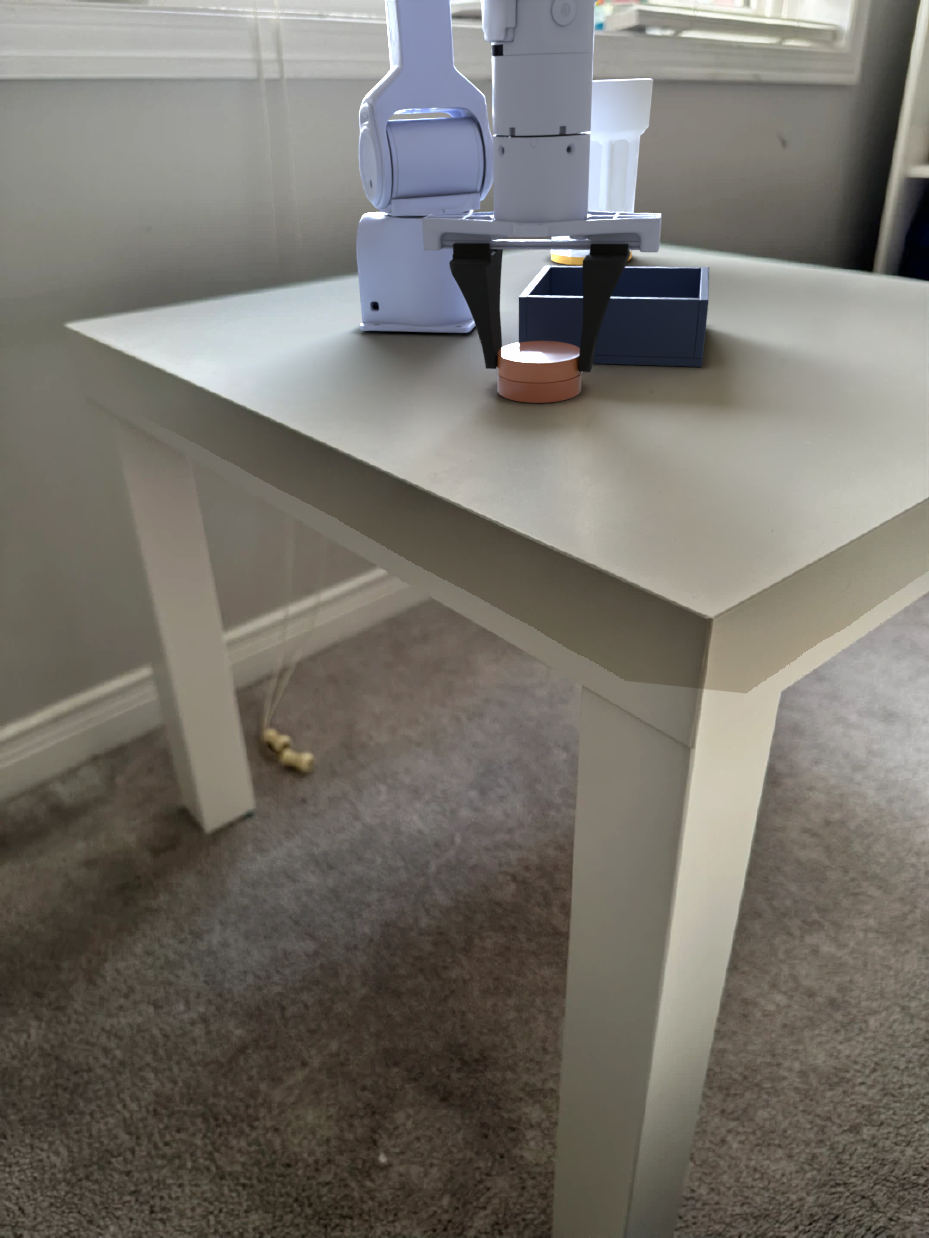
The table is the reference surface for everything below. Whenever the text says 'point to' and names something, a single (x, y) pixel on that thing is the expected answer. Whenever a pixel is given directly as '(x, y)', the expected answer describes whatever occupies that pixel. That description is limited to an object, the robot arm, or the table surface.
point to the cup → (613, 150)
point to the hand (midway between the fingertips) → (538, 366)
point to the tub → (624, 314)
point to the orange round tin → (538, 371)
